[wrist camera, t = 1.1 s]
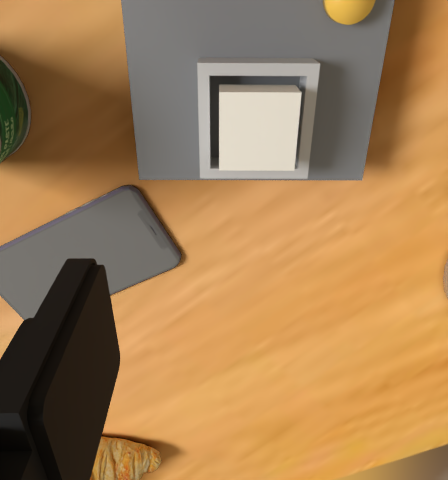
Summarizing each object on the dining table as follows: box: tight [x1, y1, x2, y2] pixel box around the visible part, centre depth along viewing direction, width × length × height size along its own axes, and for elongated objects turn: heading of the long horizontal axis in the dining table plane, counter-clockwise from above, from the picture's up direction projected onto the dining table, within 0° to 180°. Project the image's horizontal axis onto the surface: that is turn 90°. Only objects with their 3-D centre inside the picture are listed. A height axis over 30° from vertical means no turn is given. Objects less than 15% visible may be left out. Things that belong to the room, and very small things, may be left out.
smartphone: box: [0, 185, 181, 320], centre depth 33 cm, size 8×1×15 cm
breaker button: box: [219, 84, 302, 171], centre depth 23 cm, size 4×4×2 cm
